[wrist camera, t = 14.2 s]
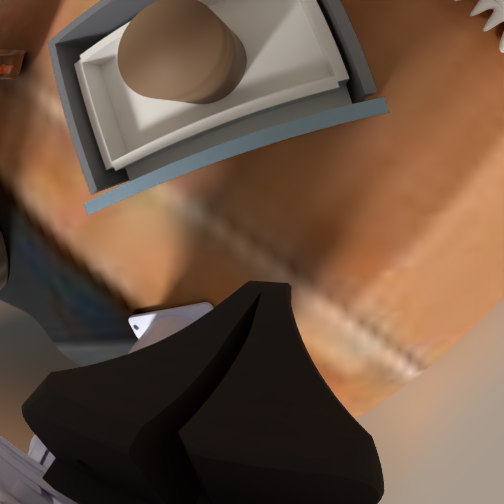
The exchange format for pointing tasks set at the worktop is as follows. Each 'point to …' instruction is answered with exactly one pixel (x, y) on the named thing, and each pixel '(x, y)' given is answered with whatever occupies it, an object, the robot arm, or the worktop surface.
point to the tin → (10, 63)
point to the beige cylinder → (180, 53)
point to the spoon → (503, 8)
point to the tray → (227, 109)
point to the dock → (120, 13)
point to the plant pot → (3, 262)
